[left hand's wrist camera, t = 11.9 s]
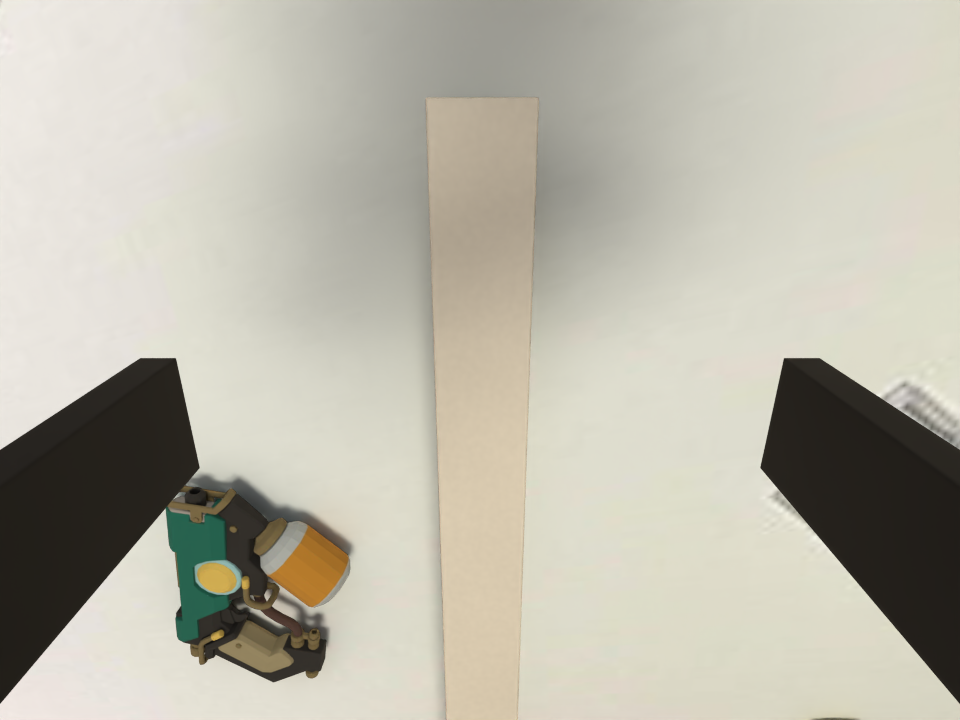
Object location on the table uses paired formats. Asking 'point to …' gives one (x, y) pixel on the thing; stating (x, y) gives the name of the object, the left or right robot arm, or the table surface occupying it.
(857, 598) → the table surface
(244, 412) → the table surface
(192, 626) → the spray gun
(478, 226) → the beam
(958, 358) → the table surface
